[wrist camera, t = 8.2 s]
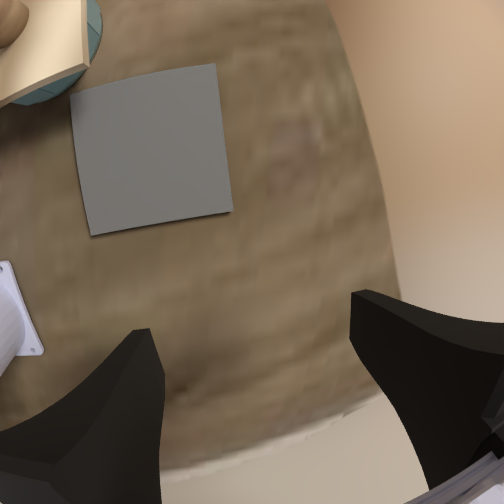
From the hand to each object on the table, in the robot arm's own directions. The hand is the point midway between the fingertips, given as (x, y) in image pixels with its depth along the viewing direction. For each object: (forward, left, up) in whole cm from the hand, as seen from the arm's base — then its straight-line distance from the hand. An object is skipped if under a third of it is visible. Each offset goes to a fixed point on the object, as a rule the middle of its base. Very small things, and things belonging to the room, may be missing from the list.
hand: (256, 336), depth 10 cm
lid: (-11, +16, -6) cm, 20 cm away
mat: (-4, +7, -10) cm, 13 cm away
